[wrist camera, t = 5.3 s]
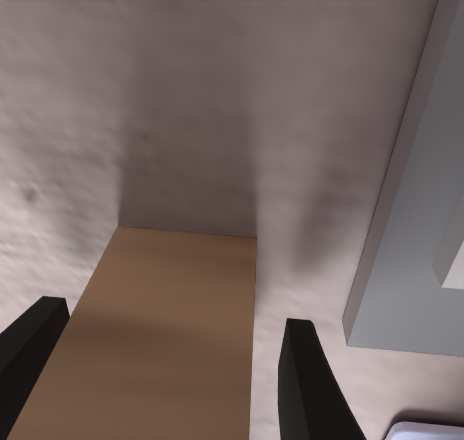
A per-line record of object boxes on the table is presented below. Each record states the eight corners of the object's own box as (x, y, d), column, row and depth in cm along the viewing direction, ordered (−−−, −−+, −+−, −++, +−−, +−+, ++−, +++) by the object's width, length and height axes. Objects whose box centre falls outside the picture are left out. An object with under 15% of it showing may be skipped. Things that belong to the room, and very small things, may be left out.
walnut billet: (247, 331, 14) (231, 609, 8) (130, 321, 14) (34, 586, 8) (257, 238, 12) (245, 532, 6) (117, 225, 12) (-27, 502, 6)
